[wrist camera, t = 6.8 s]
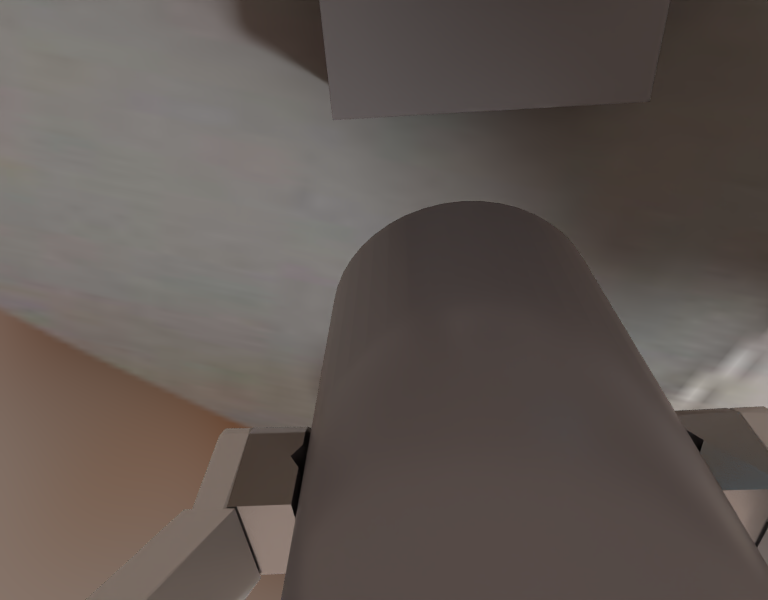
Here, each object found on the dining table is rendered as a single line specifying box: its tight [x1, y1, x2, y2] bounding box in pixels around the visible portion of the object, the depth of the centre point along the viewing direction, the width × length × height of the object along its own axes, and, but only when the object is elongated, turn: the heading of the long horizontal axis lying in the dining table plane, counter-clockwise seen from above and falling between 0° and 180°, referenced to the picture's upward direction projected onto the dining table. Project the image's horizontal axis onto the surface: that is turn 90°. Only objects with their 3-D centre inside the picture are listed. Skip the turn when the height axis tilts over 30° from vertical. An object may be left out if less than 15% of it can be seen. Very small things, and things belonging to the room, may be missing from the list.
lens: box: [281, 201, 768, 600], centre depth 8 cm, size 6×6×10 cm
